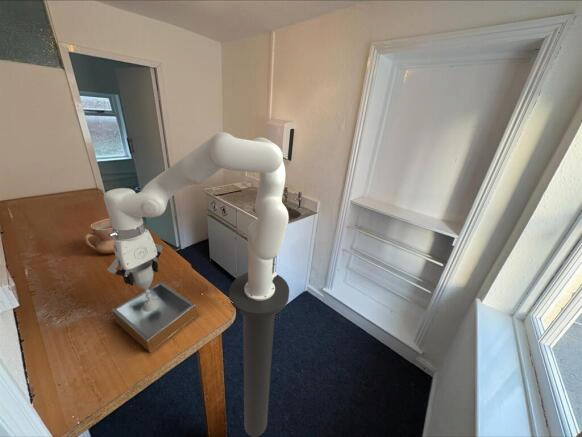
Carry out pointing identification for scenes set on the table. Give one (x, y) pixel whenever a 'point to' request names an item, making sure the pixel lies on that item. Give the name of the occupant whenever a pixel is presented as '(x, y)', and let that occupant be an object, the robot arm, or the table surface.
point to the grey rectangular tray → (155, 316)
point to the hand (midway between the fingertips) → (142, 276)
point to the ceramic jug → (101, 237)
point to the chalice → (145, 283)
